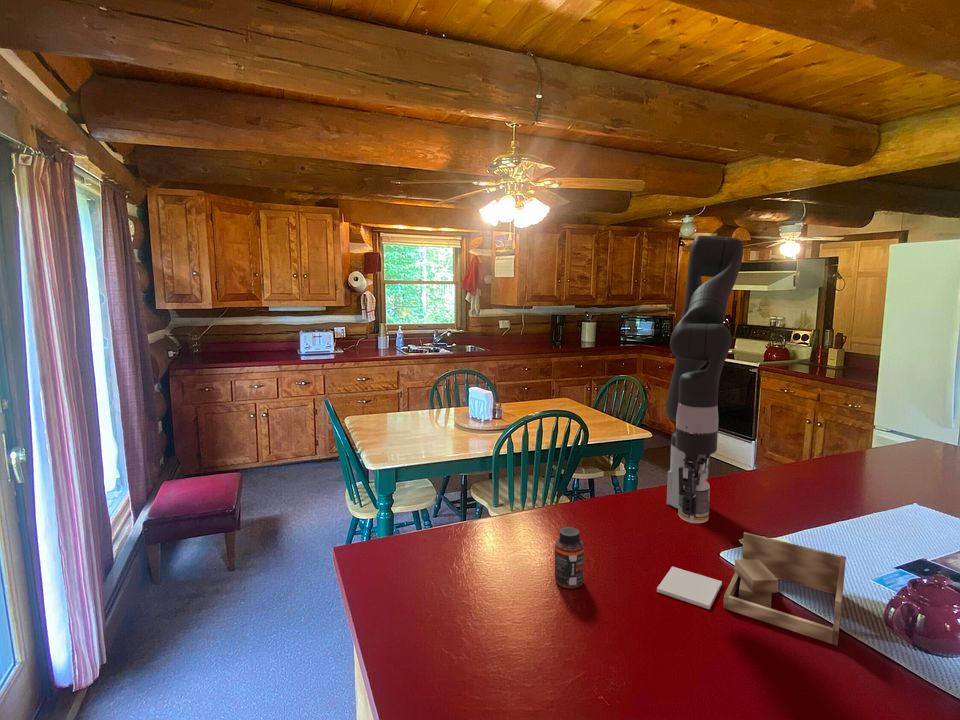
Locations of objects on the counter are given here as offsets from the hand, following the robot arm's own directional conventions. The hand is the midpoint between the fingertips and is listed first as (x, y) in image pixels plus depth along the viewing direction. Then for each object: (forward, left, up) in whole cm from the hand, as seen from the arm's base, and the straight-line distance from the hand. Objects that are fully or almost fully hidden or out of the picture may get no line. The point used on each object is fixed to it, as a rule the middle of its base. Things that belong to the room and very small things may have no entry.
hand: (693, 508), depth 103 cm
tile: (0, 0, -17) cm, 17 cm away
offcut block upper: (+11, +6, -15) cm, 19 cm away
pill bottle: (0, 0, -2) cm, 2 cm away
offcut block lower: (+11, +6, -18) cm, 22 cm away
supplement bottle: (-21, -12, -17) cm, 30 cm away
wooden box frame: (+16, +6, -17) cm, 24 cm away
